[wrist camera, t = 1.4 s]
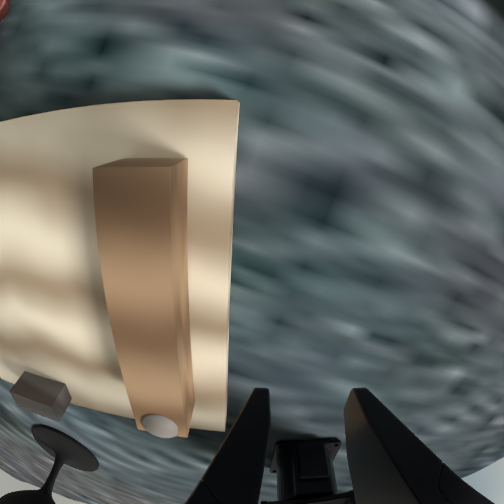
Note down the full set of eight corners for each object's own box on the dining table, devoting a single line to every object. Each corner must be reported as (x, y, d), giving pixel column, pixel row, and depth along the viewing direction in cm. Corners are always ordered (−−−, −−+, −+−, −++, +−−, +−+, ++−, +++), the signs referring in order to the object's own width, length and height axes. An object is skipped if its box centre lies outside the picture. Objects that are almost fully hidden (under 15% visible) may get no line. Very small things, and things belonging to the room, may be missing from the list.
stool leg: (195, 402, 22) (187, 441, 18) (150, 395, 22) (138, 433, 18) (188, 158, 15) (168, 168, 12) (124, 158, 15) (90, 168, 12)
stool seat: (226, 414, 25) (222, 460, 21) (10, 367, 25) (-13, 396, 20) (239, 103, 16) (232, 94, 11) (-44, 135, 16) (-85, 145, 11)
